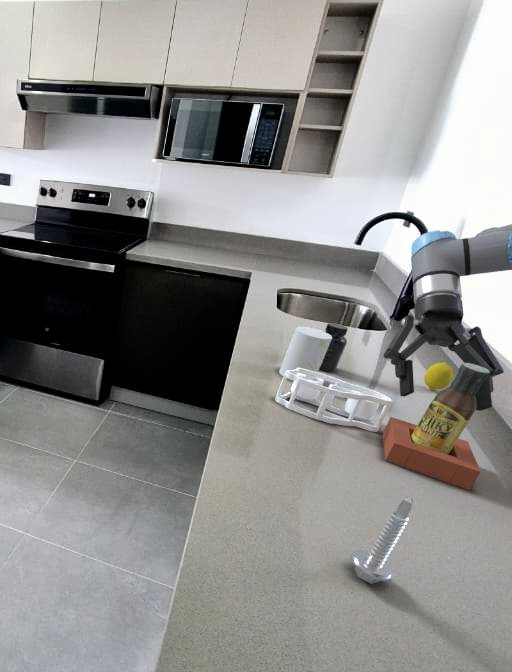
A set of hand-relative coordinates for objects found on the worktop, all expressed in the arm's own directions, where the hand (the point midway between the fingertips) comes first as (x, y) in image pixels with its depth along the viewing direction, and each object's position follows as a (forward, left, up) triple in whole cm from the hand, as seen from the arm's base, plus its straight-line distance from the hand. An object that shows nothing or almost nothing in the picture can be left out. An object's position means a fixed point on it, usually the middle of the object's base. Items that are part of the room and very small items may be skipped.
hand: (445, 401), depth 93 cm
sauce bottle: (-1, +2, -12) cm, 12 cm away
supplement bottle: (+19, -37, -12) cm, 43 cm away
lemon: (-7, -45, -12) cm, 47 cm away
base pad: (-1, +2, -12) cm, 12 cm away
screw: (+9, +46, -12) cm, 48 cm away
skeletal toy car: (+17, -5, -12) cm, 21 cm away
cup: (+24, -23, -12) cm, 35 cm away
